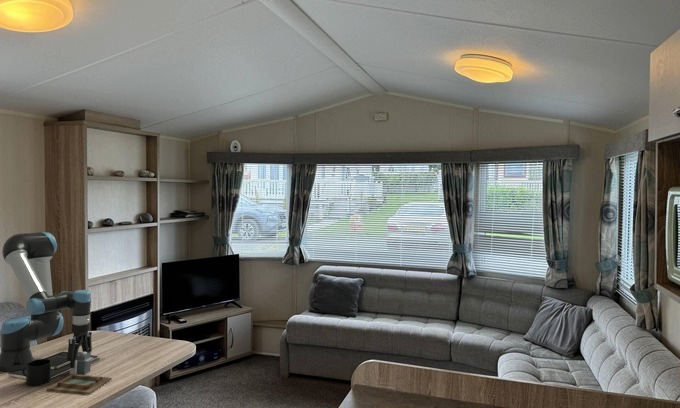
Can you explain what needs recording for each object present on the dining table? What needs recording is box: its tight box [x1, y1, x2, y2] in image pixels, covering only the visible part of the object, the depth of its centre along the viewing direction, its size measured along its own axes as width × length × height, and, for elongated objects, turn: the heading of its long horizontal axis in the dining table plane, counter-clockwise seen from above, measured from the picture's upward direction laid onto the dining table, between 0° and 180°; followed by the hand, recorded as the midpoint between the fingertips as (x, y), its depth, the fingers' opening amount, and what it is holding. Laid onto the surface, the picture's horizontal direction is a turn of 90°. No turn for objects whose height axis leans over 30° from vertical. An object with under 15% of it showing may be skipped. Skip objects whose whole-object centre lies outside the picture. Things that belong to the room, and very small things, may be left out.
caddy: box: [46, 374, 112, 395], centre depth 213 cm, size 20×16×2 cm
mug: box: [21, 358, 52, 387], centre depth 215 cm, size 9×12×9 cm
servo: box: [76, 351, 94, 375], centre depth 227 cm, size 10×4×10 cm, turn 84°
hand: (78, 371), depth 226 cm, fingers open, 7 cm apart
